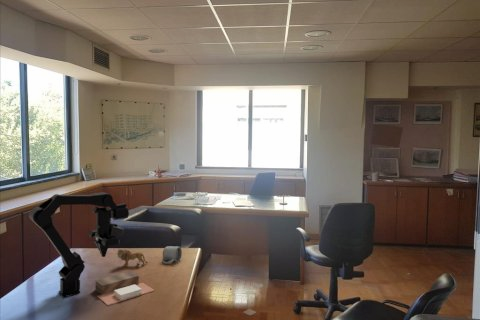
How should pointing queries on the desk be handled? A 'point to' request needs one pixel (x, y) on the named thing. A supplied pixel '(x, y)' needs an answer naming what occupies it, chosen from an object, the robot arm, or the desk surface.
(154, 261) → the desk surface
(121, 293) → the white flat block
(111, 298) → the mat
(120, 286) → the brown long block
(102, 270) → the desk surface
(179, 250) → the ceramic mug
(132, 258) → the lion figurine
